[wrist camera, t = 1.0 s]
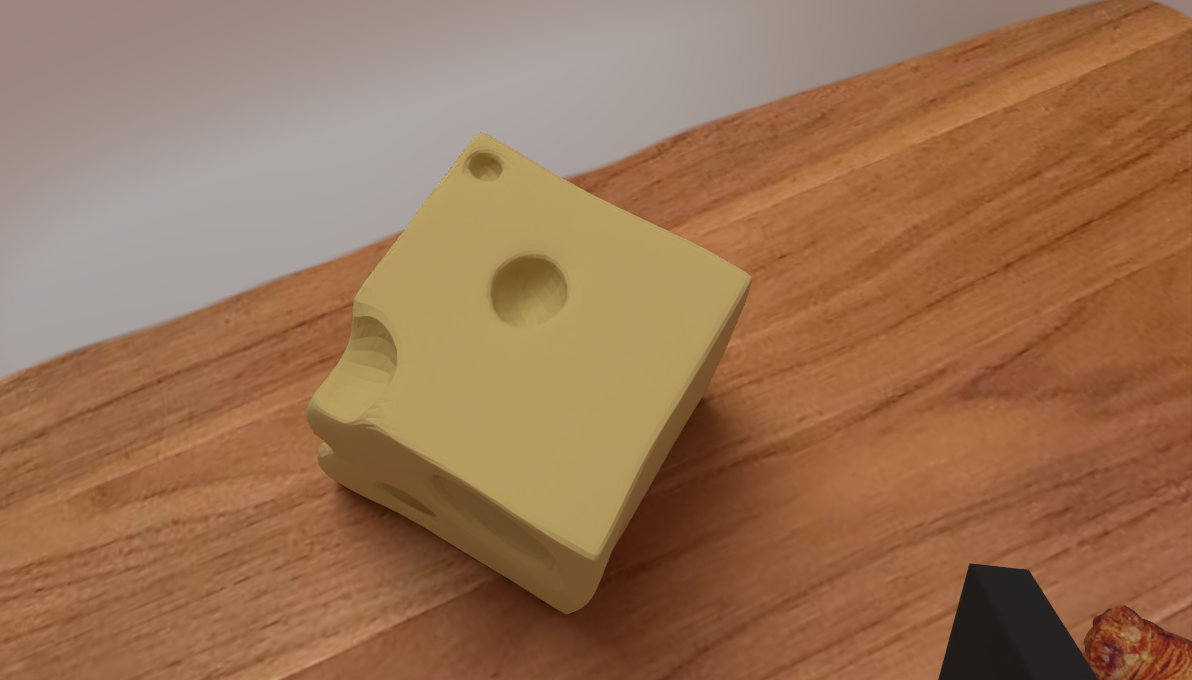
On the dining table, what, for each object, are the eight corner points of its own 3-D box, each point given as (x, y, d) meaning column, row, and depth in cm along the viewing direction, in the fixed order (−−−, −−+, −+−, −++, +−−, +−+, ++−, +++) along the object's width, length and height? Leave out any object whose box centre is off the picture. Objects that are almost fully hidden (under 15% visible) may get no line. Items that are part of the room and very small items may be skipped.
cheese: (326, 484, 39) (266, 378, 30) (490, 258, 43) (482, 104, 34) (578, 638, 37) (597, 576, 28) (723, 388, 41) (781, 262, 32)
